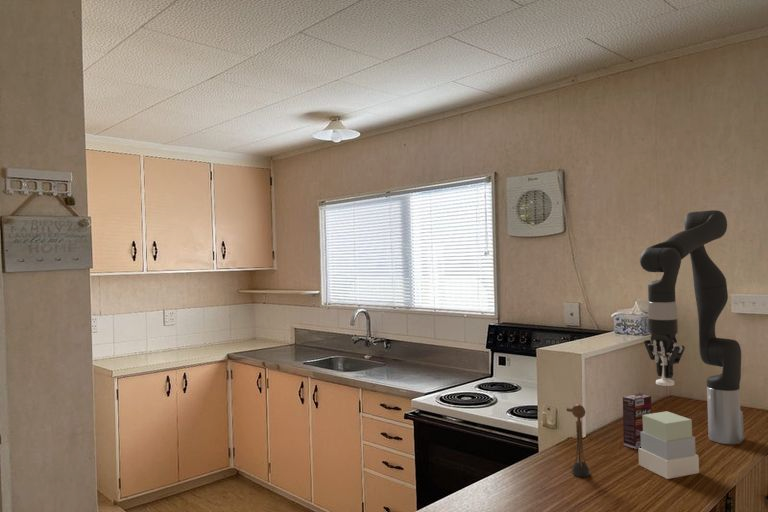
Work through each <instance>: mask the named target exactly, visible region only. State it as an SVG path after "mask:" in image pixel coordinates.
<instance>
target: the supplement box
mask: <svg viewBox="0 0 768 512" xmlns="http://www.w3.org/2000/svg"><path fill="white" fill-rule="evenodd" d="M652 413H653V412H652V396H651V395H648V394H646V393H645V394H644V393H636V394H631V395H628V396H623V397H622V421H623V423H622V424H623V425H622V426H623V427H622V428H623V429H622V430H623V431H622V432H623V446H624V447H625V446H626V447H628V448H630V449H633V448H634V449H633V450H637V449H638V448H640V447H641V436H640V432H641V431H643V418H642V415H646V414H652Z"/></svg>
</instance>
